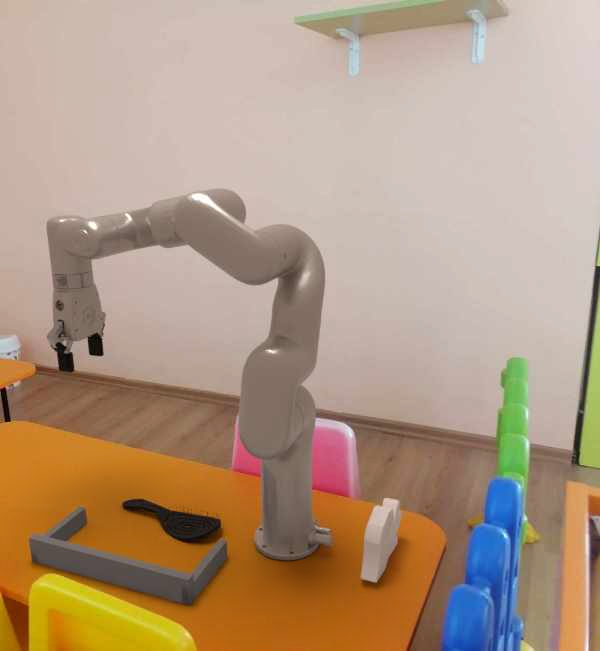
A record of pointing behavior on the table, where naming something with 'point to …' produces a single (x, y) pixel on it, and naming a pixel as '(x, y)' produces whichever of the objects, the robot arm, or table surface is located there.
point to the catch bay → (122, 563)
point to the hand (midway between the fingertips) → (82, 363)
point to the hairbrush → (178, 520)
